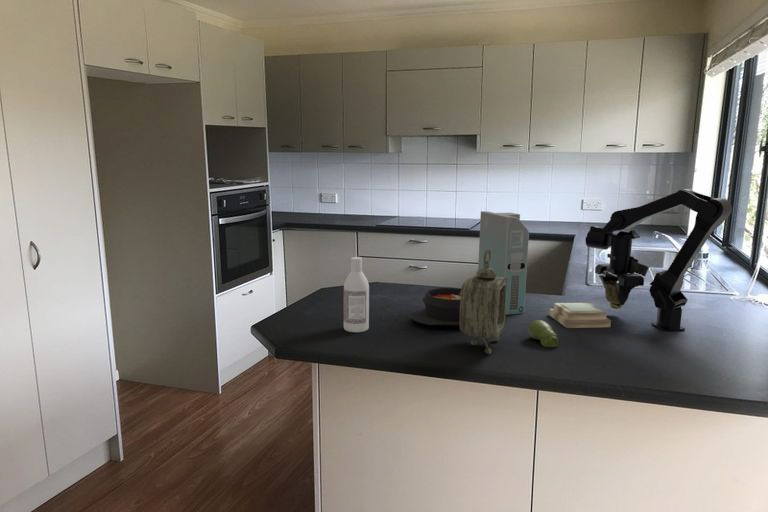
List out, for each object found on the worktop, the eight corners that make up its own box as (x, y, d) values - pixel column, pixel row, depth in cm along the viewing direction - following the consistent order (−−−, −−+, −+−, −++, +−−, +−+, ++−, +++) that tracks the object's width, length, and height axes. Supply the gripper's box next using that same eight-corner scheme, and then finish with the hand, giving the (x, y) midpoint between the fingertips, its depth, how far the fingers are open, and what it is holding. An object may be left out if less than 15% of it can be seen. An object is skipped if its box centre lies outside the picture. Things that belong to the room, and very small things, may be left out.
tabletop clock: (493, 358, 137) (499, 255, 132) (457, 352, 140) (461, 252, 136) (504, 340, 150) (509, 246, 146) (470, 335, 153) (474, 243, 149)
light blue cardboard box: (524, 313, 176) (530, 216, 170) (502, 315, 173) (507, 217, 168) (496, 300, 191) (501, 210, 185) (476, 301, 188) (480, 211, 183)
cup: (601, 309, 173) (603, 283, 171) (604, 303, 179) (606, 278, 178) (627, 312, 169) (630, 286, 168) (629, 306, 176) (632, 281, 174)
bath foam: (350, 324, 162) (351, 254, 158) (372, 327, 159) (373, 257, 156) (339, 330, 156) (339, 258, 152) (361, 334, 153) (362, 261, 149)
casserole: (466, 308, 180) (467, 282, 179) (505, 324, 164) (506, 296, 162) (397, 318, 169) (398, 290, 167) (431, 336, 152) (432, 306, 151)
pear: (544, 316, 153) (565, 333, 144) (541, 333, 155) (562, 351, 146) (526, 317, 151) (546, 334, 142) (522, 335, 153) (543, 353, 144)
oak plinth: (610, 327, 163) (611, 312, 162) (566, 327, 161) (567, 313, 160) (589, 314, 175) (590, 301, 175) (548, 314, 174) (549, 301, 173)
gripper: (664, 257, 163) (658, 310, 166) (629, 246, 181) (625, 294, 184) (627, 257, 162) (622, 310, 165) (596, 246, 180) (592, 294, 183)
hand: (616, 302), depth 174 cm, fingers closed on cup, 6 cm apart
